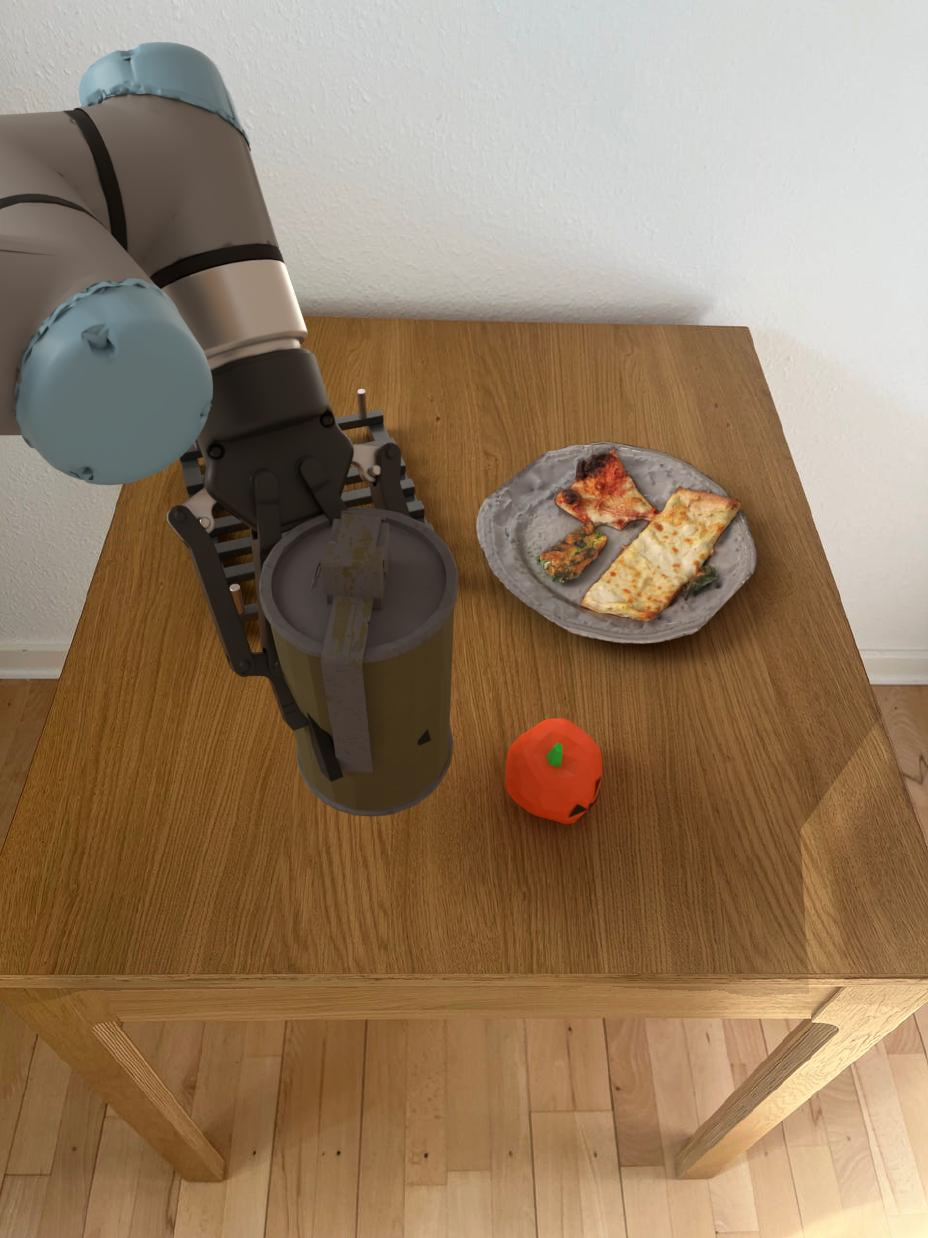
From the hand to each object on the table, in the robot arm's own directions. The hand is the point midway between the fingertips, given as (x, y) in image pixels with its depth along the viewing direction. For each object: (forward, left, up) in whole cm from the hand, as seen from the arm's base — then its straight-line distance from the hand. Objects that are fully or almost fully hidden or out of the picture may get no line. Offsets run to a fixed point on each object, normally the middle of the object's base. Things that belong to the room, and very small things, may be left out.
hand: (375, 755), depth 55 cm
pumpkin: (+14, +2, -15) cm, 20 cm away
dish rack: (+3, +34, -15) cm, 37 cm away
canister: (+1, +4, -7) cm, 8 cm away
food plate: (+29, +23, -15) cm, 40 cm away
